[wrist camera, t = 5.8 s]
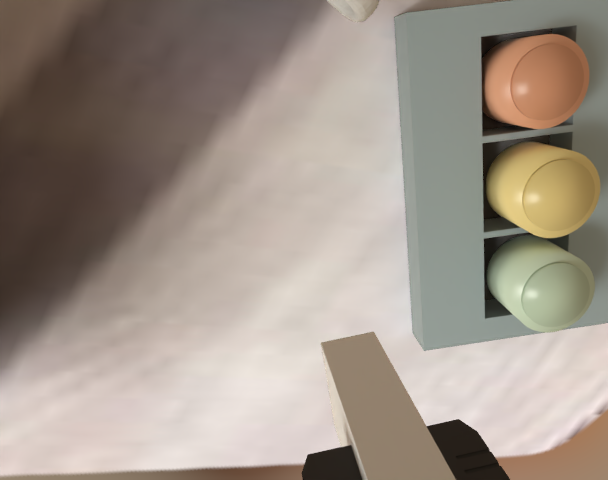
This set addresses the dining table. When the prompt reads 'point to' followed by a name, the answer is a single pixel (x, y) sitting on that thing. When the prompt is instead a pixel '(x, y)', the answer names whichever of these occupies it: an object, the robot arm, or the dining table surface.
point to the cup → (355, 8)
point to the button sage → (540, 283)
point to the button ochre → (543, 188)
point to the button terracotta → (534, 80)
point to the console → (469, 161)
